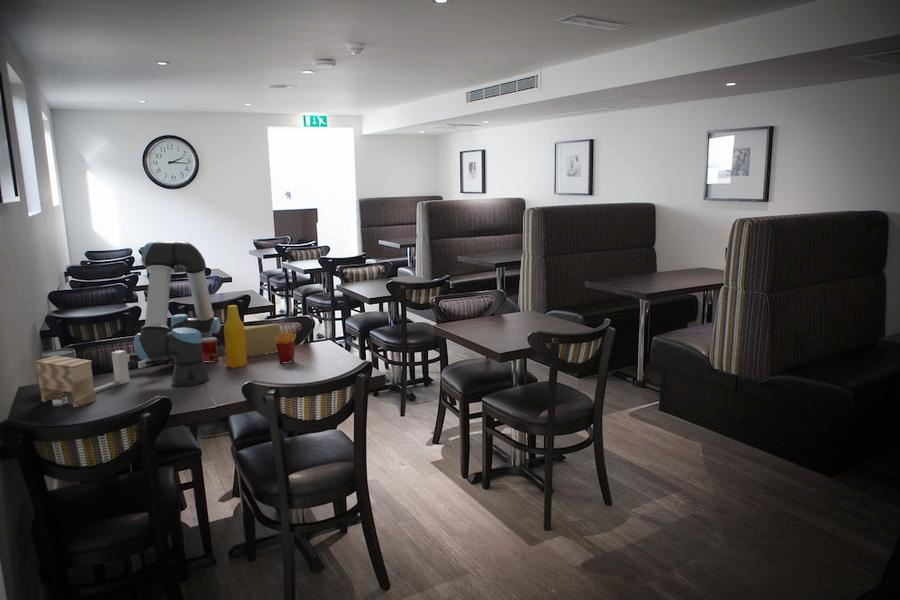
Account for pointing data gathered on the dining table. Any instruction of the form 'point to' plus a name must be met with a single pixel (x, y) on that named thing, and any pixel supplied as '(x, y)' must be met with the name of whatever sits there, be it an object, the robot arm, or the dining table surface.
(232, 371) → the dining table surface
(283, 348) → the french fries
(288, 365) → the dining table surface
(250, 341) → the cheese
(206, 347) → the red drink glass
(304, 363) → the dining table surface
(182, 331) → the robot arm
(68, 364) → the wooden bridge
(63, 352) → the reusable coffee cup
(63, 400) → the steel token
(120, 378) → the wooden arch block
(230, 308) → the beer bottle
